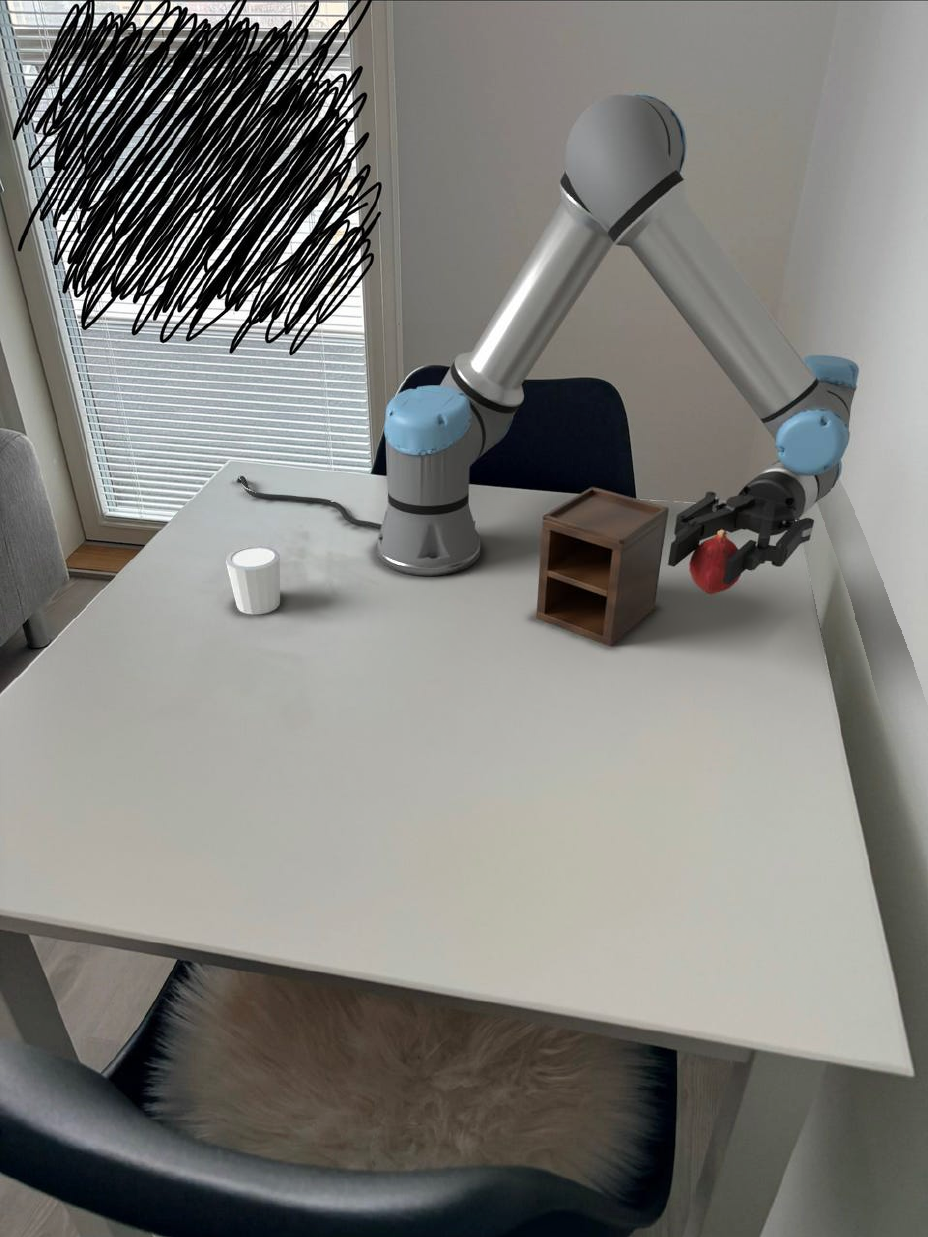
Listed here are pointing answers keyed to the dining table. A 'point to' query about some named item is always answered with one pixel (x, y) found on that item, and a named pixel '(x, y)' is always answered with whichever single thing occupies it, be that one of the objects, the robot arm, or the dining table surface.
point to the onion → (712, 563)
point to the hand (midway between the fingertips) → (700, 563)
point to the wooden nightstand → (600, 563)
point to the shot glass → (255, 578)
